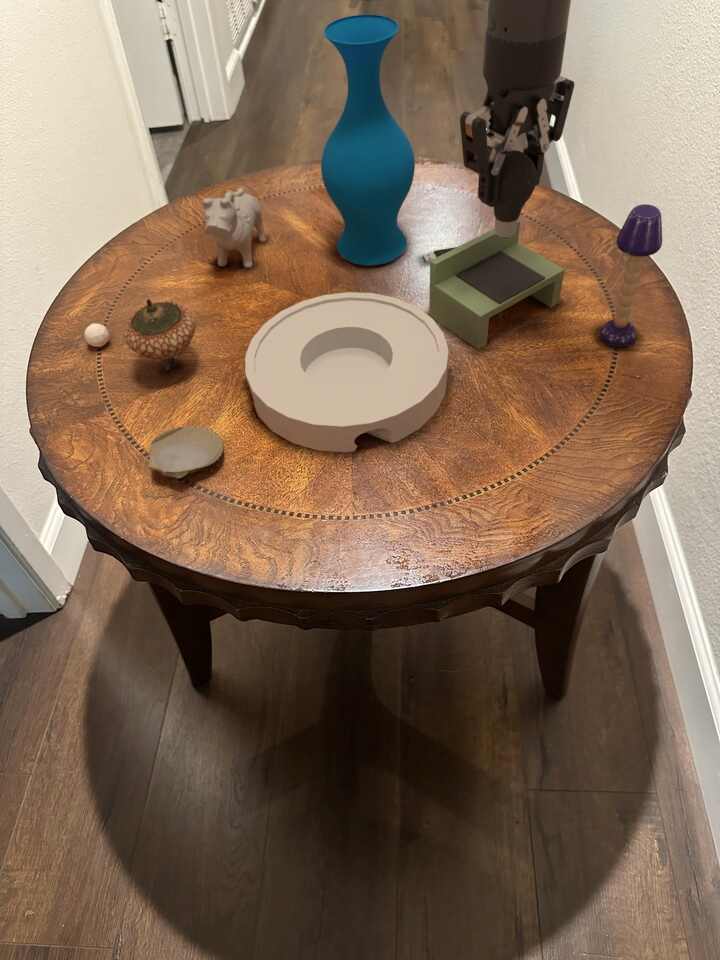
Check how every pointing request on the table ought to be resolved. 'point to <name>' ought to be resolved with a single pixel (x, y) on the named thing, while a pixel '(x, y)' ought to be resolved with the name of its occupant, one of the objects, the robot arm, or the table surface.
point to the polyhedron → (96, 335)
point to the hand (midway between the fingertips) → (509, 192)
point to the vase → (367, 148)
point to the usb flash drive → (435, 254)
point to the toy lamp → (633, 269)
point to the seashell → (184, 450)
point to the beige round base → (347, 370)
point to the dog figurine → (233, 224)
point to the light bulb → (513, 191)
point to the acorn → (160, 331)
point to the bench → (488, 283)
